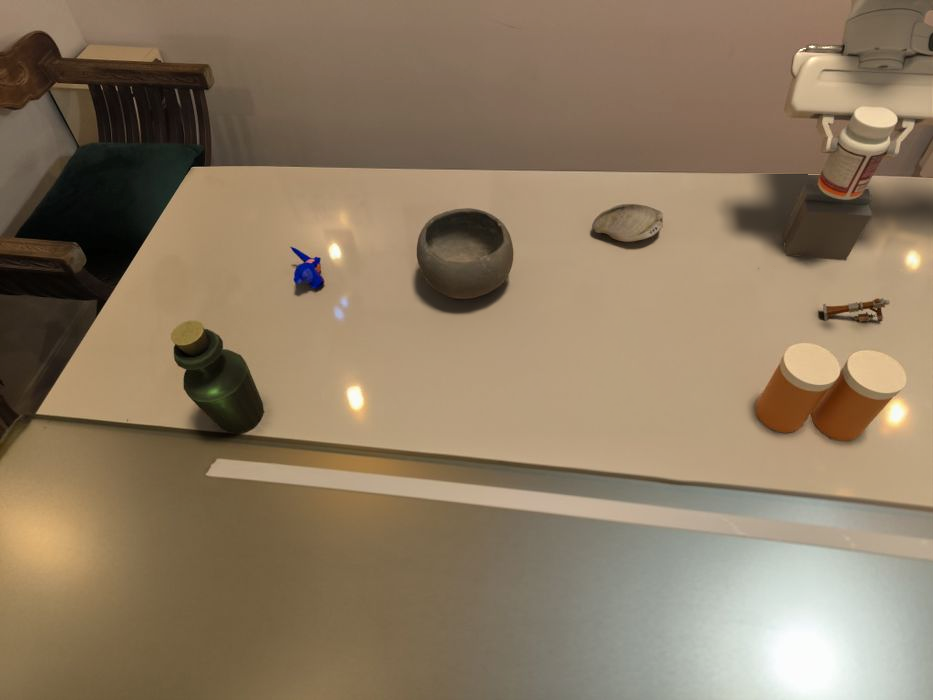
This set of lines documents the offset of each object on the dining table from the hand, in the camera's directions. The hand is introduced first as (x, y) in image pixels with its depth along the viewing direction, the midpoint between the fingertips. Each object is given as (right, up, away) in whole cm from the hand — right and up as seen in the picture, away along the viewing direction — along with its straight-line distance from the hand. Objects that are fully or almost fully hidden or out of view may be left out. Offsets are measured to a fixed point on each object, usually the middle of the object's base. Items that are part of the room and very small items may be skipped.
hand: (859, 154), depth 82 cm
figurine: (-79, -15, +19) cm, 83 cm away
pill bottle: (0, -3, +5) cm, 6 cm away
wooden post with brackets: (+3, -22, +7) cm, 23 cm away
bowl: (-53, -15, +17) cm, 58 cm away
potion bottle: (-85, -36, +3) cm, 92 cm away
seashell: (-26, -7, +21) cm, 34 cm away
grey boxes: (+3, -10, +17) cm, 20 cm away
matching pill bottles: (-8, -35, -3) cm, 36 cm away
